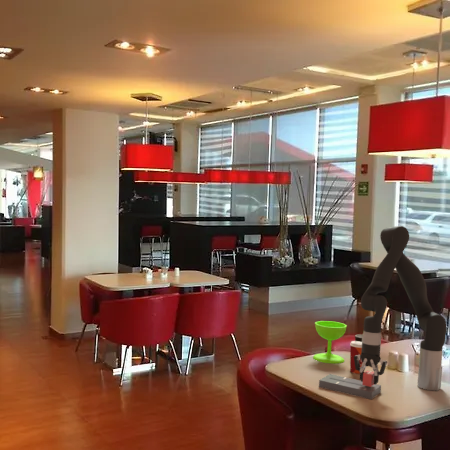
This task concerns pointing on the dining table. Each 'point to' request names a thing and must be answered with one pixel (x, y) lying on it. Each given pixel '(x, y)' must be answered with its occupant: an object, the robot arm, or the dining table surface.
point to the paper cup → (354, 350)
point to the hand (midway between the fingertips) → (368, 382)
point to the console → (349, 386)
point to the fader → (368, 378)
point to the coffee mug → (358, 338)
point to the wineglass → (329, 340)
